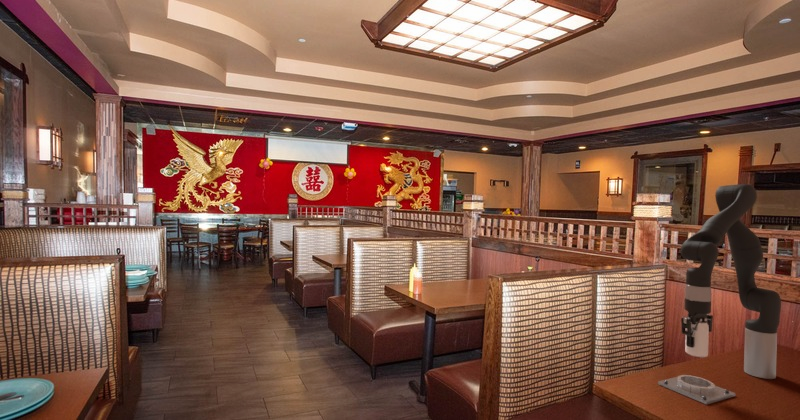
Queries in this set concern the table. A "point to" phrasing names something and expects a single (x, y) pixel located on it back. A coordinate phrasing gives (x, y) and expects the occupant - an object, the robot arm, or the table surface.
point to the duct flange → (697, 388)
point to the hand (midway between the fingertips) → (696, 345)
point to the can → (699, 341)
